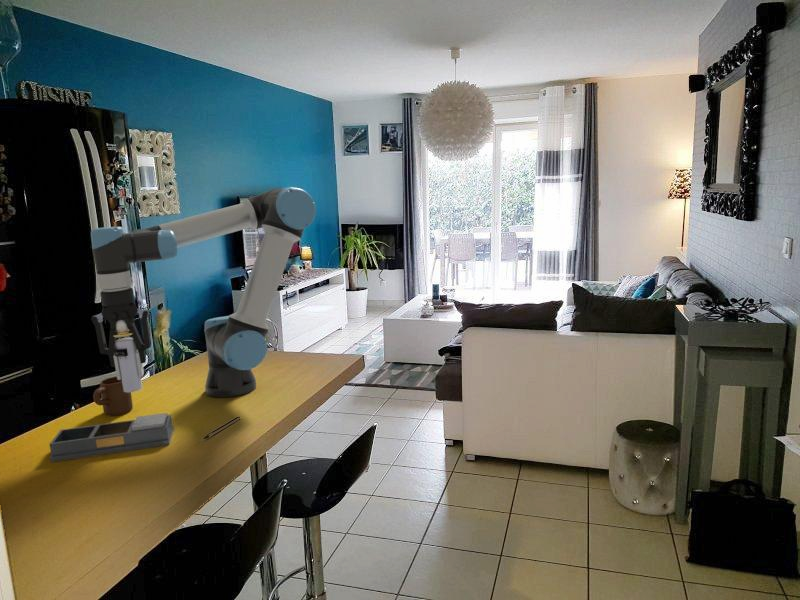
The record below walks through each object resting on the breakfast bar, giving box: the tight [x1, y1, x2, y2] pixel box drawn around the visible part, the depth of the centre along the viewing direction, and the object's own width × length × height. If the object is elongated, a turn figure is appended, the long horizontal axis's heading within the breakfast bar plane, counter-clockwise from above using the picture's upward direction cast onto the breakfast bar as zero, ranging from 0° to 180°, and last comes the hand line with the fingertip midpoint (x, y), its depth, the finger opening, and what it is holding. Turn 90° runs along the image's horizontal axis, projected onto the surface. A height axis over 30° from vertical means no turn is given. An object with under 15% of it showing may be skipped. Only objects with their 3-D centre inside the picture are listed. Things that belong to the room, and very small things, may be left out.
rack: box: [49, 412, 175, 463], centre depth 143 cm, size 26×10×5 cm, turn 105°
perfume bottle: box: [112, 320, 143, 393], centre depth 150 cm, size 6×6×20 cm
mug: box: [92, 376, 134, 417], centre depth 163 cm, size 12×8×9 cm, turn 167°
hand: (130, 376), depth 151 cm, fingers closed on perfume bottle, 4 cm apart
